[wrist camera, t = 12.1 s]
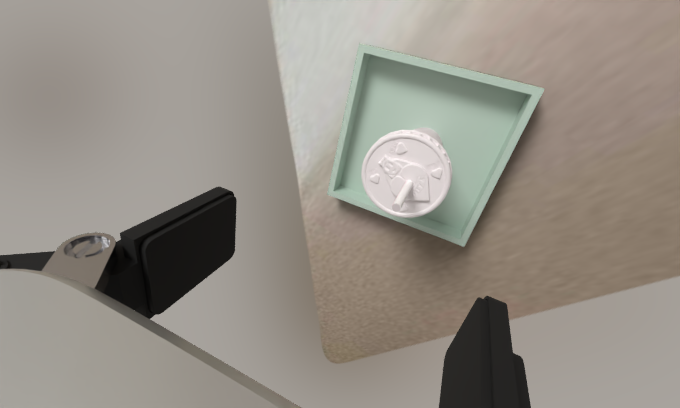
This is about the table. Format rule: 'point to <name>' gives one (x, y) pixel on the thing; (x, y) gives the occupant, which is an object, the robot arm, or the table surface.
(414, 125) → the tray
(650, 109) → the table surface
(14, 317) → the robot arm
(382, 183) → the smoothie
